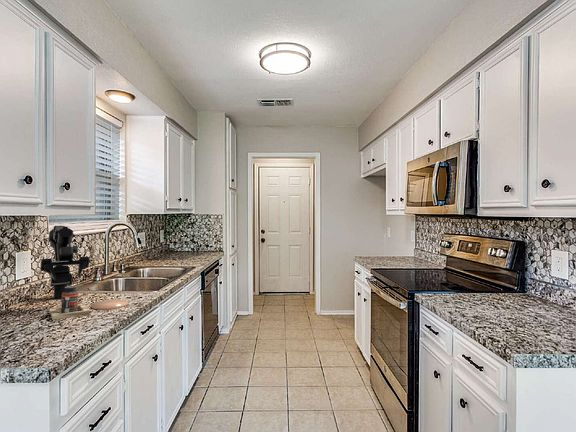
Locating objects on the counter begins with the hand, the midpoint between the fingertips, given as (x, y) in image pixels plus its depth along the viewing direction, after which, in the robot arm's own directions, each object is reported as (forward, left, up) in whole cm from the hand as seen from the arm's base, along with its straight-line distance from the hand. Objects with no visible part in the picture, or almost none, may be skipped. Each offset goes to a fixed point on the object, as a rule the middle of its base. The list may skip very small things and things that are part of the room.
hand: (67, 278), depth 156 cm
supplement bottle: (+7, +4, -14) cm, 16 cm away
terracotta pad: (-4, +17, -14) cm, 22 cm away
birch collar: (+7, +4, -14) cm, 16 cm away
